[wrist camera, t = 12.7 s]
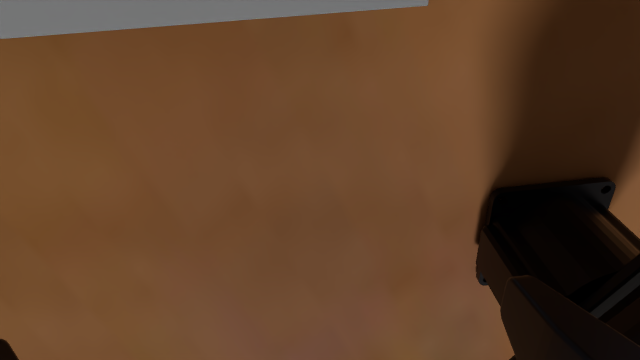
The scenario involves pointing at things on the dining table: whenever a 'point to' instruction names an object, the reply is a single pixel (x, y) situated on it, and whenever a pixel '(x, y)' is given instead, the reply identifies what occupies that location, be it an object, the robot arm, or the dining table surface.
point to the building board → (160, 13)
